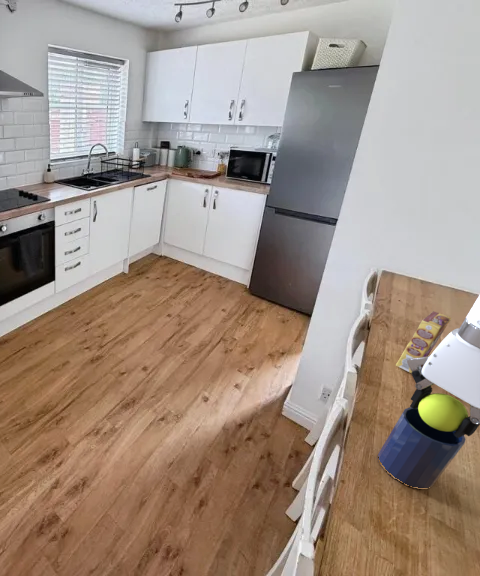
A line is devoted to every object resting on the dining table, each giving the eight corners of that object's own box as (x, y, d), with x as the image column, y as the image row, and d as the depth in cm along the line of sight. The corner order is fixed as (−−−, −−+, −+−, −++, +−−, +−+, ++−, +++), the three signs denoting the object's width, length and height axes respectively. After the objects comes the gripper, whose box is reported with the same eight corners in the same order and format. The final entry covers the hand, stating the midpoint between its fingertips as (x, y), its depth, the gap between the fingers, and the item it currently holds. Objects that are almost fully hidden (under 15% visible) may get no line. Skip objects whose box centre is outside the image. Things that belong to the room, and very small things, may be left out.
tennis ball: (465, 433, 65) (484, 406, 62) (444, 444, 63) (462, 417, 60) (424, 407, 70) (440, 382, 67) (404, 416, 68) (419, 390, 65)
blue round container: (443, 480, 70) (476, 437, 64) (415, 497, 67) (447, 452, 61) (395, 444, 77) (421, 402, 71) (367, 457, 74) (392, 414, 68)
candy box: (413, 375, 98) (441, 327, 90) (394, 366, 101) (420, 319, 94) (425, 363, 102) (452, 317, 95) (407, 355, 105) (432, 310, 98)
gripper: (583, 365, 52) (511, 452, 60) (442, 306, 66) (399, 383, 74) (558, 378, 49) (486, 466, 57) (416, 313, 63) (375, 392, 71)
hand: (437, 418), depth 66 cm, fingers closed on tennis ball, 6 cm apart
